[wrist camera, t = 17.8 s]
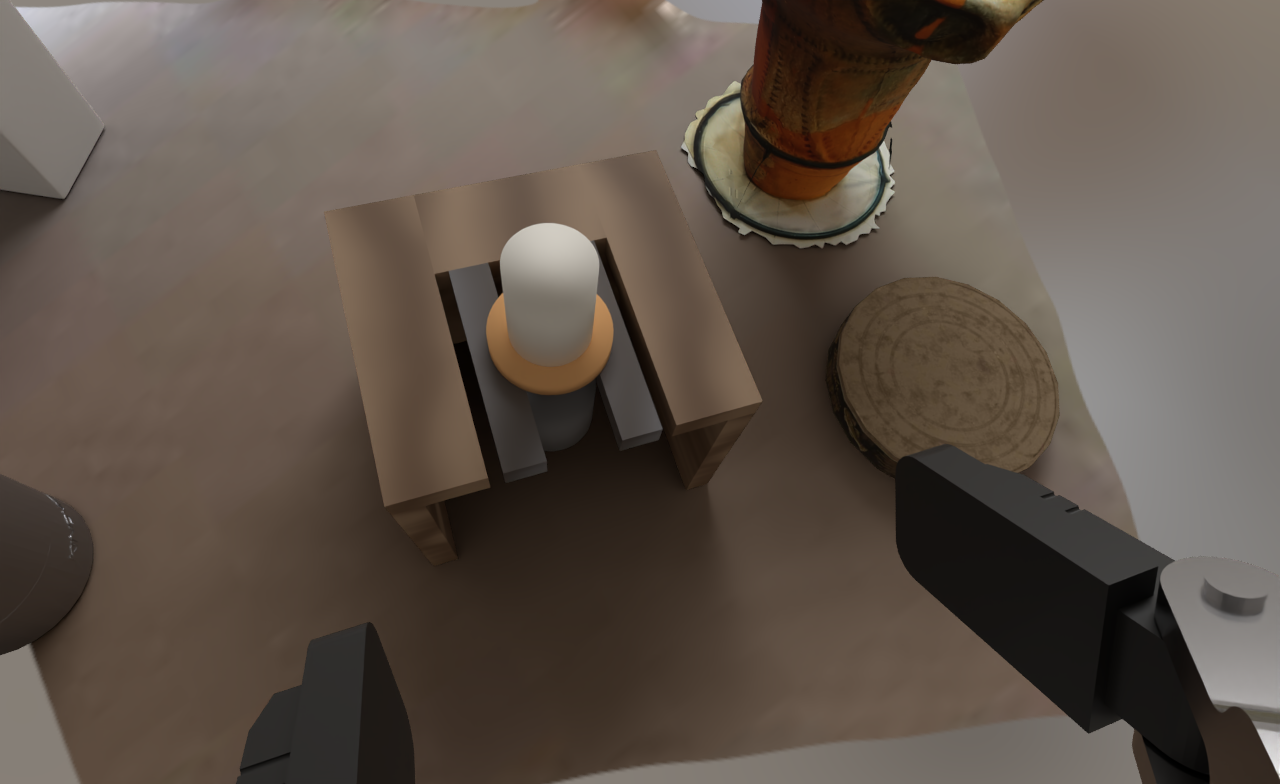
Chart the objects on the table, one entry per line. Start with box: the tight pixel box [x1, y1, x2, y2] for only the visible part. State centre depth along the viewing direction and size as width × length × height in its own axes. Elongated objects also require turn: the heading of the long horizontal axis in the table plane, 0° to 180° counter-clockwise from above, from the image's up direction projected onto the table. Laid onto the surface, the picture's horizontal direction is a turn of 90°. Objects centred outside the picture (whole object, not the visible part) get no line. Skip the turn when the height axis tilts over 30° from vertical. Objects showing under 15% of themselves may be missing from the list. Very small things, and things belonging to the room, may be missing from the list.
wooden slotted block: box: [324, 150, 763, 566], centre depth 42 cm, size 18×16×14 cm
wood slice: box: [826, 277, 1059, 478], centre depth 52 cm, size 16×16×3 cm
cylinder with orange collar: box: [486, 223, 614, 451], centre depth 36 cm, size 6×6×16 cm
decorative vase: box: [681, 0, 1043, 248], centre depth 47 cm, size 21×23×28 cm
